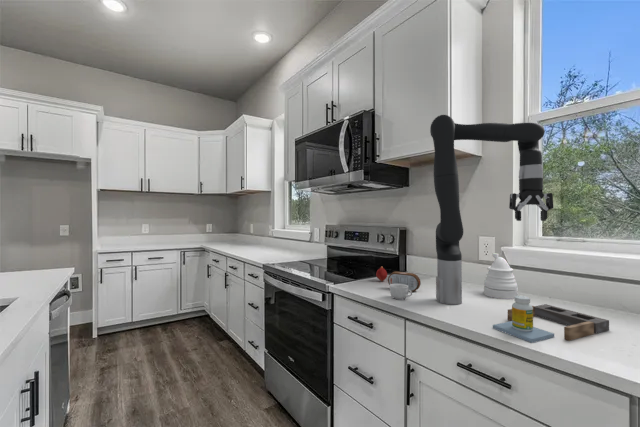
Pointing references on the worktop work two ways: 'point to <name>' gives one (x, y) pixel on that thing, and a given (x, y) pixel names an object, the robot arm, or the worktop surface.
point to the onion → (381, 274)
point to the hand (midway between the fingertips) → (531, 220)
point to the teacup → (399, 291)
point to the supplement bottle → (522, 314)
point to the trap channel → (570, 321)
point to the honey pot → (500, 280)
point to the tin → (405, 280)
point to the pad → (528, 336)
